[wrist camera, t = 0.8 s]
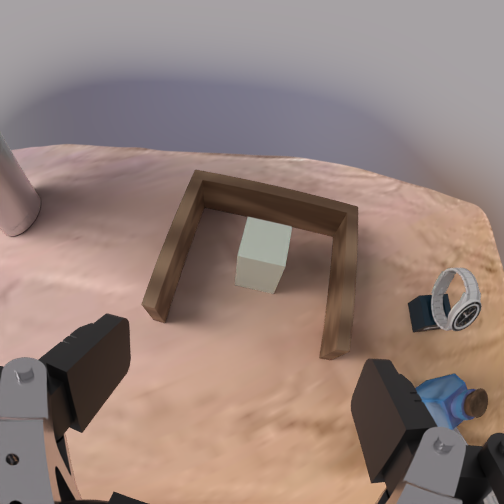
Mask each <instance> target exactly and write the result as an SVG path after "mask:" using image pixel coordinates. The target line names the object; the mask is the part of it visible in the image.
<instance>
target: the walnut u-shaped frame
mask: <svg viewBox="0 0 504 504" xmlns="http://www.w3.org/2000/svg"><path fill="white" fill-rule="evenodd" d="M204 207H205V208H210V209H214V210H219V211H224V212H229V213H233V214H238V215H242V216H247V217H252V218H256V219H261V220H265V221H270V222H274V223H279V224H283V225H287V226H291V227H295V228H299V229H303V230H308V231H312V232H316V233H320V234H324V235H328V236H332V237H333V248H332V259H331V270H330V280H329V289H328V298H327V306H326V315H325V322H324V330H323V337H322V344H321V351H320V357H319V358H321V359H327V360H332V359H334V358H337V357H339V356H341V355H343V354H345V353H347V352H350V343H351V334H352V324H353V313H354V301H355V287H356V270H357V245H358V207H357V206H353V205H350V204H346V203H342V202H339V201H335V200H331V199H327V198H323V197H319V196H315V195H311V194H307V193H303V192H299V191H295V190H291V189H286V188H282V187H278V186H273V185H269V184H264V183H260V182H255V181H251V180H246V179H241V178H236V177H231V176H226V175H221V174H216V173H211V172H205V171H200V170H195V171H194V174H193V176H192V178H191V180H190V182H189V185H188V187H187V189H186V192H185V194H184V196H183V198H182V201H181V203H180V205H179V208H178V210H177V213H176V215H175V217H174V220H173V222H172V225H171V227H170V230H169V232H168V234H167V237H166V239H165V242H164V245H163V247H162V250H161V252H160V255H159V257H158V260H157V263H156V265H155V268H154V271H153V273H152V276H151V279H150V282H149V284H148V287H147V290H146V293H145V296H144V299H143V302H142V306H143V307H144V308H145V310H146V311H147V312H148V313H149V315H150V316H151V317H152V318H153V320H156V321H159V322H163V323H165V322H166V319H167V315H168V312H169V309H170V306H171V303H172V300H173V296H174V293H175V290H176V287H177V284H178V281H179V278H180V275H181V272H182V269H183V266H184V263H185V260H186V257H187V254H188V252H189V249H190V246H191V243H192V240H193V237H194V235H195V232H196V229H197V226H198V223H199V221H200V218H201V215H202V213H203V210H204Z"/></svg>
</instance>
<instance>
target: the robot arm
mask: <svg viewBox="0 0 504 504" xmlns="http://www.w3.org/2000/svg"><path fill="white" fill-rule="evenodd" d="M40 206H41V200H40V197H39V195H38V194H37V192H36V191H35V189H34V188H33V186H32V185H31V183H30V181H29V180H28V178H27V177H26V175H25V173H24V172H23V170H22V169H21V167H20V165H19V164H18V162H17V160H16V158H15V157H14V155H13V153H12V152H11V150H10V148H9V146H8V145H7V143H6V141H5V139H4V138H3V136H2V134H1V132H0V229H1V230H2V231H3V232H4V233H5V234H6V235H8V236H16V235H19V234H21V233H22V232H24V231H25V230H27V229H28V228H29V227H30V226H31V224H32V223H33V222H34V221H35V219H36V217H37V215H38V213H39V210H40ZM130 359H131V356H130V330H129V321H128V320H127V319H126V318H123V317H119V316H115V315H111V314H105V315H104V316H102V317H101V318H100V319H99V320H97V321H96V322H95V323H94V324H93V323H90V324H88V325H85V326H82V327H79V328H78V329H77V330H75V331H74V332H73V333H71V334H70V336H68V337H66V338H65V339H64V340H63V342H60V343H59V344H57V345H56V346H55V347H54V348H52V349H51V350H50V351H49V352H47V353H46V354H45V355H44V356H42V357H41V358H40V359H39V360H37V359H34V358H27V357H24V358H17V359H14V360H12V361H10V362H8V363H7V364H6V365H5V366H4V367H3V366H0V504H148V503H145V502H142V501H139V500H136V499H133V498H130V497H127V496H124V495H122V494H119V493H116V492H113V494H112V496H111V498H110V500H109V501H102V500H82V498H81V495H80V493H79V490H78V488H77V485H76V481H75V477H74V473H73V468H72V464H71V459H70V454H69V449H68V443H67V438H66V435H65V432H66V431H67V429H68V428H69V427H70V428H72V429H74V430H77V431H79V432H81V433H83V431H84V430H85V428H86V427H87V426H88V424H89V423H90V422H91V420H92V419H93V418H94V416H95V415H96V414H97V412H98V411H99V410H100V408H101V407H102V406H103V404H104V403H105V402H106V400H107V399H108V398H109V396H110V395H111V394H112V392H113V391H114V390H115V388H116V387H117V386H118V384H119V383H120V382H121V380H122V379H123V378H124V376H125V375H126V374H127V372H128V369H129V366H130ZM351 412H352V416H353V419H354V423H355V426H356V430H357V433H358V437H359V440H360V444H361V447H362V451H363V455H364V458H365V462H366V466H367V469H368V473H369V477H370V481H371V483H379V482H385V483H386V488H385V489H384V491H383V492H382V493H381V495H380V497H379V498H378V500H377V502H376V503H375V504H485V503H484V501H483V500H484V499H485V498H486V497H487V496H488V495H489V494H490V493H491V492H492V491H493V492H494V494H495V496H496V498H497V501H498V503H499V504H504V433H496V434H493V435H491V436H490V437H489V439H488V440H487V442H486V443H485V444H484V446H470V445H465V442H464V440H463V438H462V437H461V436H460V435H459V434H458V433H456V432H455V431H453V430H451V429H449V428H445V427H438V426H437V424H436V422H435V421H434V419H433V417H432V416H431V414H430V412H429V411H428V409H427V407H426V406H425V404H424V402H422V399H421V397H420V396H419V394H417V391H416V389H415V387H414V386H413V384H412V383H411V382H410V381H409V380H408V379H407V378H405V377H404V376H403V375H402V374H398V372H397V370H396V369H395V367H394V365H393V364H392V362H391V361H390V360H386V359H368V360H367V361H366V362H365V364H364V367H363V370H362V372H361V375H360V378H359V380H358V383H357V385H356V388H355V391H354V393H353V396H352V400H351Z"/></svg>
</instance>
